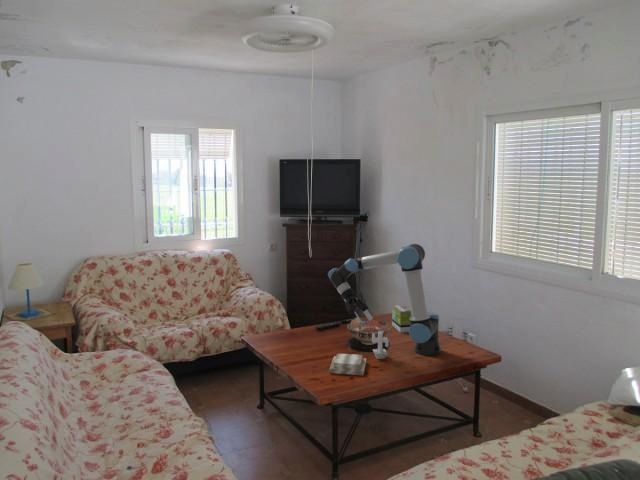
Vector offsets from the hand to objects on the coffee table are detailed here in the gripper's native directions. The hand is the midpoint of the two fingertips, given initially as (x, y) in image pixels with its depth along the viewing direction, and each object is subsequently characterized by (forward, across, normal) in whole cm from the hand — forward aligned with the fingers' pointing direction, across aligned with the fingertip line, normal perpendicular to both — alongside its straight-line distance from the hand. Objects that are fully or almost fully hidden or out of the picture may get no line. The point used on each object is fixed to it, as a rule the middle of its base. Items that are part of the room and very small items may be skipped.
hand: (365, 321), depth 298 cm
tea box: (+7, -56, -10) cm, 57 cm away
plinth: (+18, +22, -13) cm, 31 cm away
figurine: (+21, -1, -6) cm, 22 cm away
